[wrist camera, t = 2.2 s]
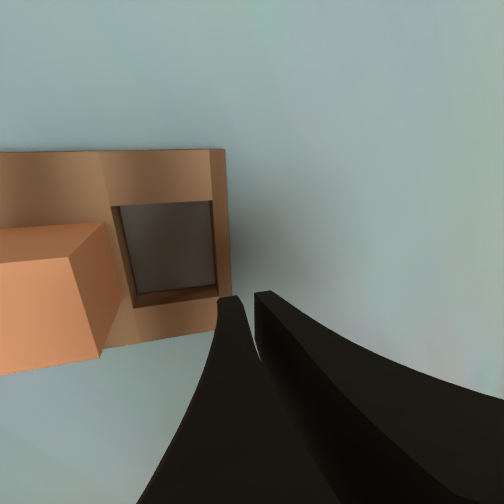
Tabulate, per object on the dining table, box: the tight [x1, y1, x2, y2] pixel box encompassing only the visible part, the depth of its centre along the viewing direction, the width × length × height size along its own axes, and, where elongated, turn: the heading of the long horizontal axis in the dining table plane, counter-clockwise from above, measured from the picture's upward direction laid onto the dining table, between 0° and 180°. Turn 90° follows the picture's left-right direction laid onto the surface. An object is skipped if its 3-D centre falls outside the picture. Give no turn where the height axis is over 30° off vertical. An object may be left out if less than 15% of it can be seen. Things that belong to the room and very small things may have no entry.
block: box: [0, 222, 122, 375], centre depth 11 cm, size 4×4×4 cm
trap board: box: [0, 149, 232, 349], centre depth 13 cm, size 23×11×2 cm, turn 91°
